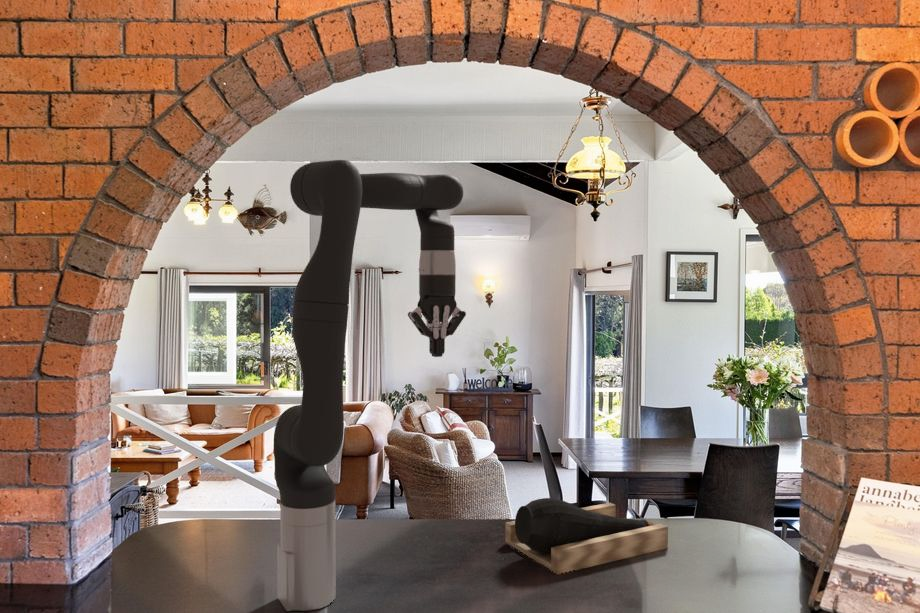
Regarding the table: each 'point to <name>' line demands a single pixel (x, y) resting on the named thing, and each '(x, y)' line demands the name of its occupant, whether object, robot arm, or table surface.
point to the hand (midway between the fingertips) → (437, 356)
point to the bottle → (565, 524)
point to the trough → (595, 545)
